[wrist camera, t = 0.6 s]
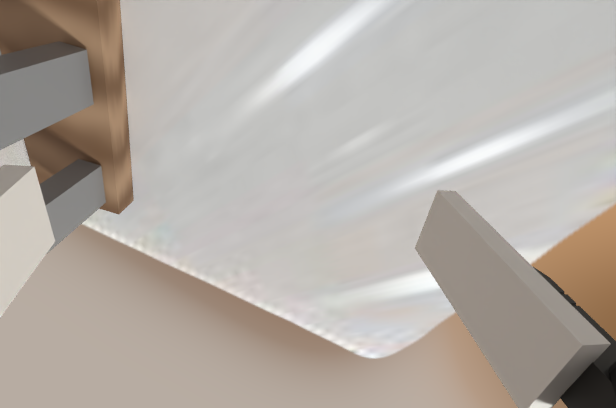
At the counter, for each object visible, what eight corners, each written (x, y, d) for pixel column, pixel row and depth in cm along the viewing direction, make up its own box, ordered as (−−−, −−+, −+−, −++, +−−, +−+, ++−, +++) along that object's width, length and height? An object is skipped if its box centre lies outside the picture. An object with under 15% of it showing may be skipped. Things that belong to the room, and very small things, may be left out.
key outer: (101, 165, 37) (-24, 256, 25) (106, 202, 40) (-5, 299, 28) (78, 158, 37) (-59, 245, 25) (84, 196, 40) (-35, 290, 28)
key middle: (87, 49, 30) (-94, 101, 19) (94, 104, 33) (-59, 179, 22) (58, 40, 30) (-141, 87, 19) (68, 96, 33) (-99, 167, 22)
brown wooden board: (-25, -191, 25) (-69, -208, 22) (109, -151, 25) (80, -163, 23) (56, 177, 44) (37, 189, 41) (133, 200, 44) (118, 214, 41)
